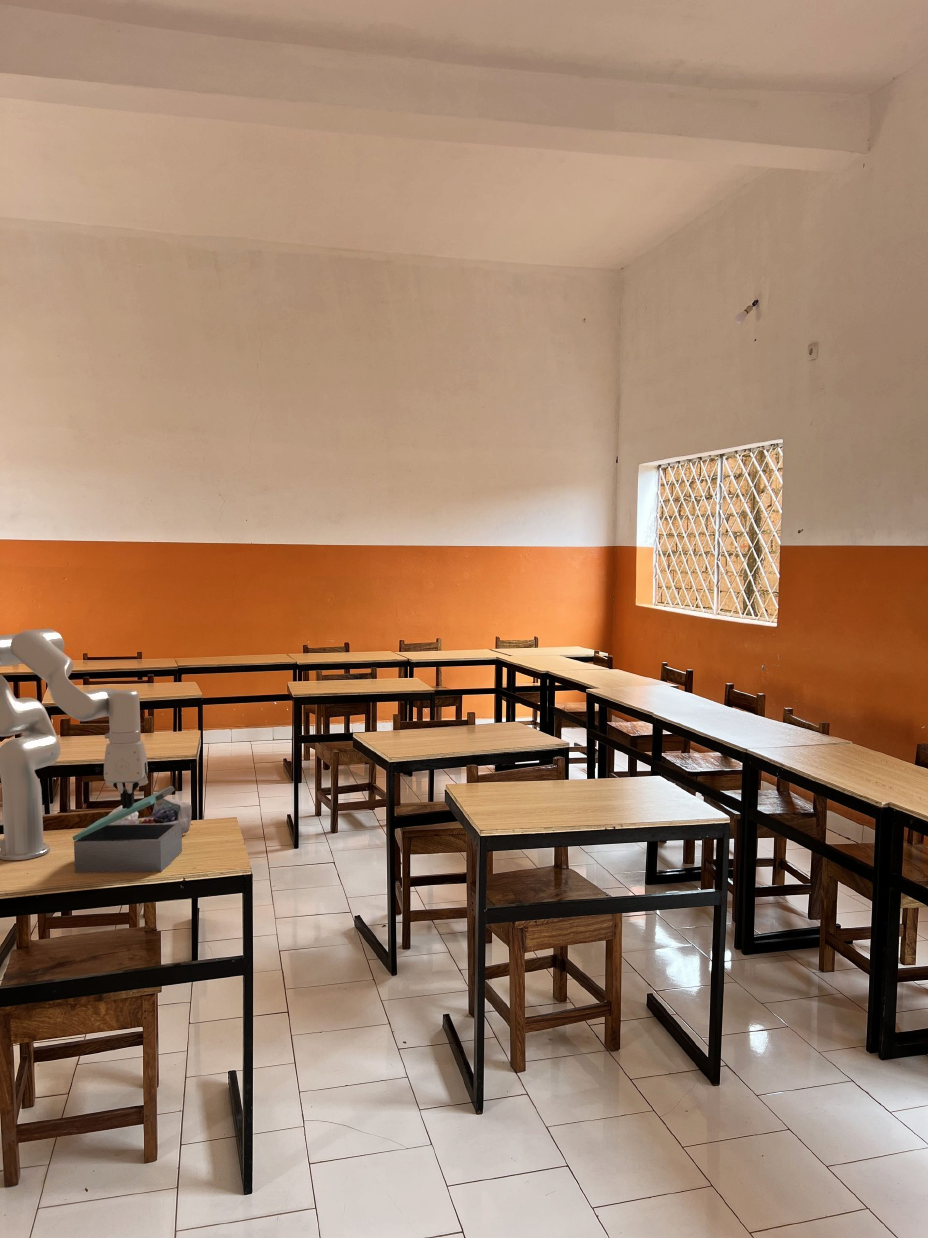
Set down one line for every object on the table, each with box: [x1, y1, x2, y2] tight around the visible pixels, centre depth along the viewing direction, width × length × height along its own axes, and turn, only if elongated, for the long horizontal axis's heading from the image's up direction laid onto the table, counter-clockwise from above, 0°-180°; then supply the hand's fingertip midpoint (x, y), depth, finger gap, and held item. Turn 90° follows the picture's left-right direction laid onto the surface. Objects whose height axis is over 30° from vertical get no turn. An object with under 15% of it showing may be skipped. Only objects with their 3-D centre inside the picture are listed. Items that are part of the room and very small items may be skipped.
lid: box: [71, 785, 175, 841], centre depth 236 cm, size 24×16×1 cm, turn 89°
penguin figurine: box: [108, 805, 139, 824], centre depth 263 cm, size 6×8×12 cm
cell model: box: [119, 797, 193, 835], centre depth 256 cm, size 13×11×20 cm
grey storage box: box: [73, 823, 183, 874], centre depth 236 cm, size 22×16×8 cm
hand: (127, 807), depth 236 cm, fingers closed
